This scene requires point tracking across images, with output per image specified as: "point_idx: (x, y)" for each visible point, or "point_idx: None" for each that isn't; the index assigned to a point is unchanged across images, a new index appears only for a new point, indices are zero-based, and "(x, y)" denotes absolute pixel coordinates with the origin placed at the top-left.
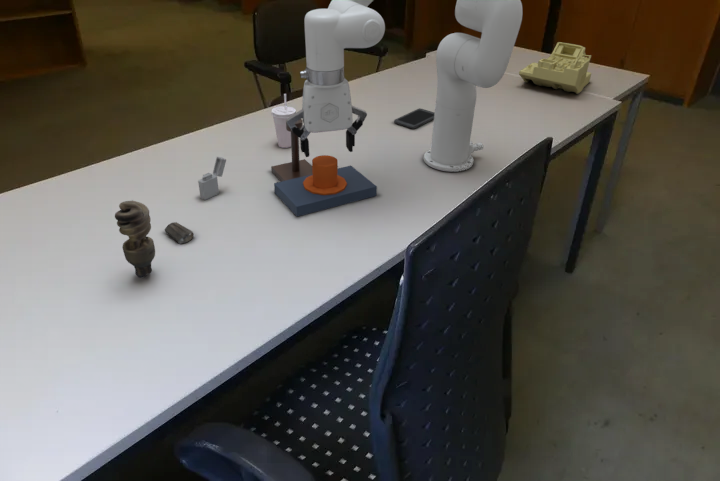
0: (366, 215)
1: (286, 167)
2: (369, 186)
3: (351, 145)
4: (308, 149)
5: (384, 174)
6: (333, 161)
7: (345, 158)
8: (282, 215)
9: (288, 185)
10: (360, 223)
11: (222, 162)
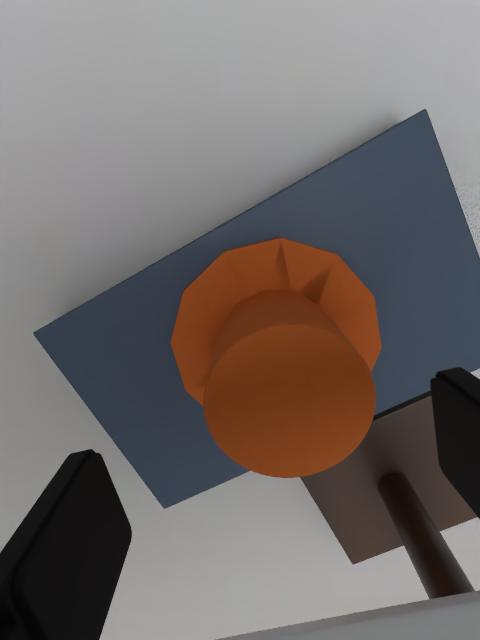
0: (85, 145)
1: (430, 504)
2: (66, 330)
3: (52, 489)
4: (476, 408)
5: (43, 481)
6: (230, 396)
7: (196, 585)
8: (465, 135)
9: (447, 332)
10: (106, 65)
11: None
